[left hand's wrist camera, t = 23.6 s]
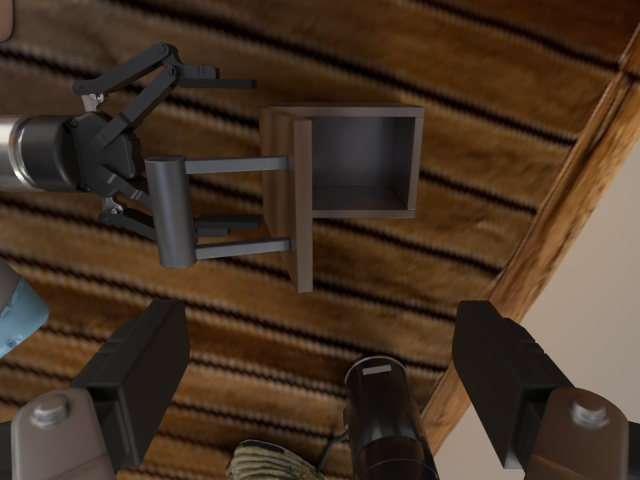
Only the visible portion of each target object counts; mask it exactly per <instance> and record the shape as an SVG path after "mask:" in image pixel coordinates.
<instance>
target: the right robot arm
mask: <svg viewBox="0 0 640 480" xmlns="http://www.w3.org/2000/svg"><path fill="white" fill-rule="evenodd" d="M162 65H164V67H165V69H164V70H163V71H162V72H161V73H160V74H159V75H158V76H157V77H156V78H155V79H154V80H153V81H152V82H151V83H150V84H149V85H148V86H147V87H146V88H145V89H144V90H143V91H142V92H141V93H140V94H139V95H138V96H137V97H136V98H135V99H134V100H133V101H132V102H131V103H130V104H129V105H128V106H127V107H126V108H125V109H124V110H123V111H122V112H121V113H119V114H118V115H116V116H115V117H114V118H112V117H111V116H110V115H108V114H107V113H105V112H103V111H101V105H102V104H103V103H105V102H106V101H107V100H108V98H109V95H108V93H113V92H116V91H118V90H120V89H122V88H124V87H125V86H127V85H129V84H131V83H132V82H134V81H136V80H138V79H139V78H141V77H143V76H145V75H147V74H148V73H150V72H152V71H154V70H155V69H157V68H159V67H161V66H162ZM179 84H180V87H182V88H247V89H257V88H256V80H240V79H220V77H219V68H216V67H214V66H210V65H184V64H183V63H182V62H181V60H180V58H179V56H178V50H177V48H176V47H175V46H173V45H170V44H167V43H163V42H159V43H157V44H155V45H154V46H152V47H150V48H148V49H147V50H145V51H143V52H142V53H140V54H138V55H136V56H135V57H133V58H131V59H129V60H128V61H126V62H124V63H122V64H121V65H119V66H117V67H116V68H114V69H112V70H110V71H109V72H107V73H105V74H103V75H102V76H100V77H98V78H97V79H94V80H85V81H77V82H75V83H74V84H73V90H74V92H75V93H76V94H78V95H81V97H82V100H83V103H84V107H85V110H86V112H85V113H84V114H82V115H39V116H35V115H10V114H0V191H16V192H45V191H49V192H76V193H95V194H98V195H100V196H102V202H103V212H102V213H100V214H99V215H98V218H99V220H100V222H102V223H104V224H113V225H121V226H123V227H125V228H128V229H130V230H132V231H134V232H137V233H139V234H141V235H143V236H146V237H148V238H150V239H152V240H155V241H157V239H156V232H155V226H154V220H153V217H151V216H149V215H147V214H145V213H143V212H140V211H138V210H136V209H132V208H128V207H127V204H126V203H123V202H120V201H119V200H118V199H117V198H116V195H117V194H119V193H120V192H122V193H124V194H125V195H126V196H128V197H129V198H131V199H135V200H137V201H138V202H140V203H141V204H143V205H144V206H145V207H147V208H148V209H149V210H151V211H152V207H151V201H150V195H149V188H148V182H147V179H146V178H145V177H143V176H142V175H141V173H142V170H143V169H144V164H143V160H142V158H141V155H140V149H141V144H140V139H137V136H136V135H135V133H134V132H133V131H134V130H135V129H136V128H137V127H138V126H139V125H140V124H141V123H142V122H143V119H144V118H145V117H146V116H147V115H148V114H149V113H150V112H152V111H153V110H154V109H155V108H156V107H157V106H158V105H159V104H160V103H161V102H162V101H163V100H164V99H165V98H166V97H167V96H168V95H169V94H170V93H171V92H172V91H173V90H174V89H175V88H176V87H177V86H178V85H179ZM193 220H194V229H195V237H196V244H197V243H198V237H225V236H228V234H229V233H230V231H231V230H230V229H259V227H260V225H261V222H262V215H253V214H202V215H201V216H200V217H199V218H198V219H196V218H194V217H193ZM48 316H49V308H48V306H47V304H46V303H45V302H44V301H43V300H42V299H41V297H40V296H39V295H38V294H37V293H36V292H35V291H34V289H33V288H32V287H31V286H30V285H29V284H28V283H27V282H26V280H25V278H24V276H22V275H20V274H18V273H17V272H15V271H14V270H13V269H12V268H11V267H10V266H9V265H8V264H7V263H6V262H5V261H4V260H2V259H1V258H0V358H1V357H3V356H4V355H5V354H7V353H8V352H9V351H11V350H12V349H13V348H14V347H15V346H17V345H18V344H19V343H20V342H22V341H23V340H25V339H26V338H27V337H29V336H30V335H31V334H32V333H33V332H35V331H36V330H37V329H38V328H39V327H40V326H41V325H42V324H44V322H45V321H46V320H47V318H48Z"/></svg>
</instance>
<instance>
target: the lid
mask: <svg viewBox="0 0 640 480" xmlns="http://www.w3.org/2000/svg"><path fill="white" fill-rule="evenodd" d="M258 110H259V129H260V148H261V156H253V157H228V158H204V159H186V157H184V156H178V155H163V156H154V157H149V158H146V159H145V160H144V163H145V170H146V176H147V182H148V188H149V195H150V201H151V207H152V214H153V220H154V226H155V232H156V239H157V245H158V251H159V257H160V263H161V265H162V266H163V267H165V268H169V269H179V268H184V267H188V266H191V265H193V264H195V263H196V262H197V261H198V259H204V258H214V257H224V256H234V255H243V254H253V253H263V252H273V251H279V253H280V255H281V258H282V260H283V262H284V264H285V267H286V269H287V271H288V273H289V275H290V278H291V280H292V282H293V284H294V286H295V289H296V291H297V293H305V292H312V291H313V228H312V120H310V119H306V118H303V117H300V116H296V115H293V114H290V113H287V112H283V111H280V110H277V109H274V108H270V107H259V108H258ZM256 170H262V187H263V206H264V220H265V222H266V224H267V227H268V229H269V231H270V233H271V236H272V238H266V239H255V240H245V241H234V242H223V243H212V244H202V245H196V237H195V229H194V220H193V212H192V204H191V195H190V187H189V179H188V174H196V173H216V172H236V171H256Z"/></svg>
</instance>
